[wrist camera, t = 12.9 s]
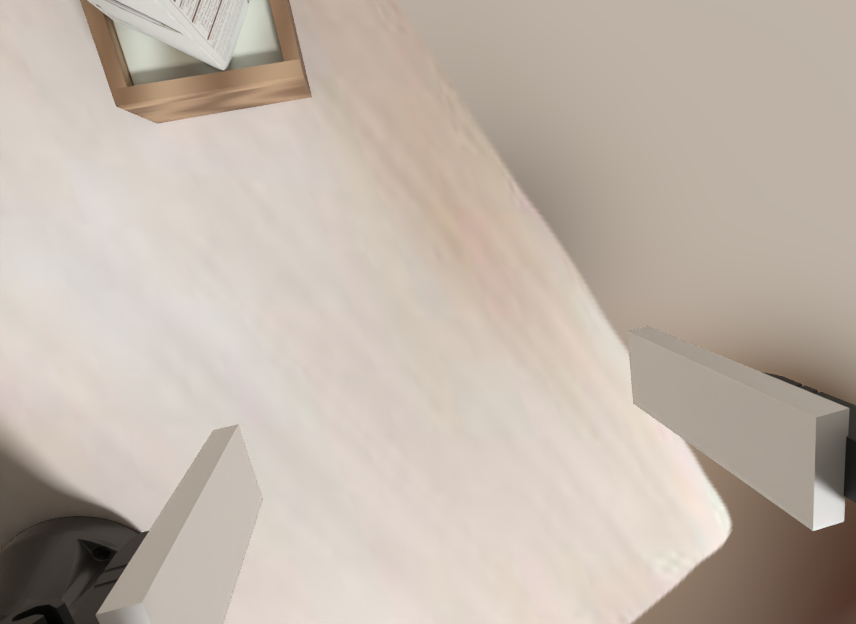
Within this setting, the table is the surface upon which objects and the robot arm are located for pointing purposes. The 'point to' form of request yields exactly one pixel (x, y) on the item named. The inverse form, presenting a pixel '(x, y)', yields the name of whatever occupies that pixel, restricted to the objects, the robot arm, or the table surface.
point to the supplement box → (184, 24)
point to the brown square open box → (202, 67)
